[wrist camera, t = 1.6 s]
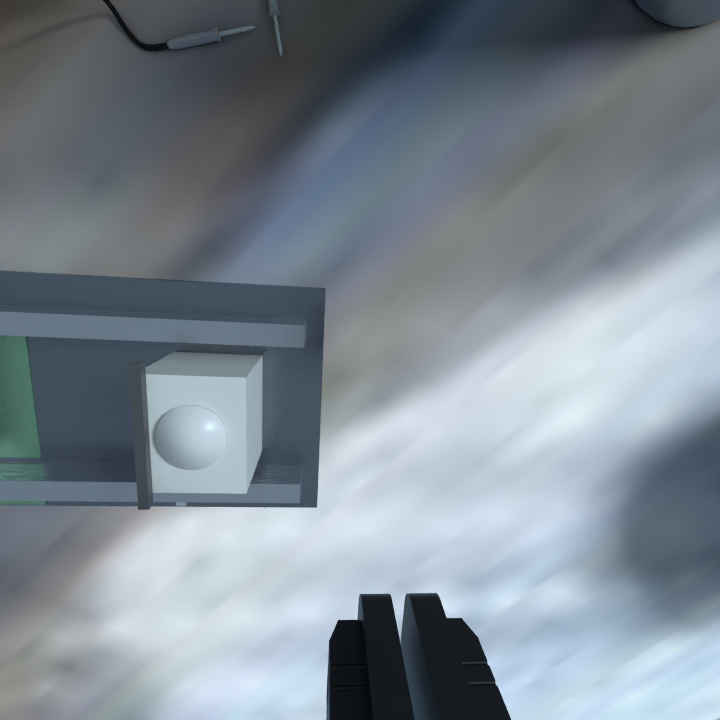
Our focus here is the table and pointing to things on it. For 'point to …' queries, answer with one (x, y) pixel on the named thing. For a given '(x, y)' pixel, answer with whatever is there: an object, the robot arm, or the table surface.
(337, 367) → the table surface
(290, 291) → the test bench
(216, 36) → the multimeter
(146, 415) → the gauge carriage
